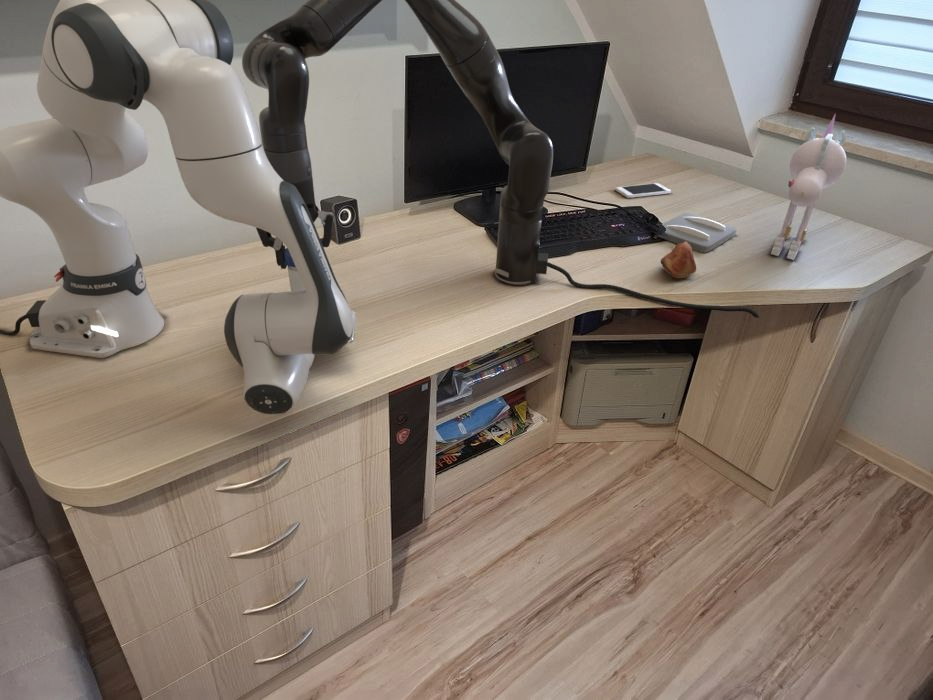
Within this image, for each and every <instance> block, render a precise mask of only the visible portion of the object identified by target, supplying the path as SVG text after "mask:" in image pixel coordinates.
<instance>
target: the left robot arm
mask: <svg viewBox="0 0 933 700" xmlns="http://www.w3.org/2000/svg"><path fill="white" fill-rule="evenodd" d="M53 11H54V12H53V13H52V16H51V18H50V21H49V23H48V27H47V30H46V33H45V36H44V37H45V38H44V41H43V46H42V52H41V57H40V64H39V68H38V69H39V70H38V77H37V82H36V92H37V96H38V98H39V102H40V103H41V105H42V107H43V108H44V110H45V111H46V112H47V114H49V115H50V118H47V119H41V120H36V121H32V122H27V123H22V124H17V125H12V126H9V127H6V128H3V129H1V130H0V197H1V198H2V199H4V200H6V201H9V202H11V203H14V204H17V205H20V206H23V207H24V208H26V209H29V211H31V212H33V213H34V214H36V215H37V216H38V217H39V218H40V219H41V220H42V221H43V222H44V223H45V224H46V226H47V227H48V228H49V229H50V232H51V233H52V234H53V237H54V239H55V241H56V244H57V246H58V248H59V250H60V252H61V255H62V258H63V260H64V265H63V266H61V267H60V268H59V271H58V272H57V273H56V274H54V276H53V278H55V282H56V283H58V282H59V281H60V280H61V279H62V280H63V281H62V285H61V286H60V287H59V288H58V289H56V290H55V291H54V292H53V293H52V294H50V296H49V297H48V298H47V299H44V300H41V299H40V300H36V301H35V303H33V304H32V306H31V307H30V308H29V309H28V310H27V312H26V313H25V314H24V315H22V316H20V317H19V318H18V319H17V320H16V322H15V325H14V330H12V331H6V330H3V329H0V334H1V335H4V336H16V335H18V334H19V333H20V331H21V324H22V323H23V322H24V321H25V320H28V322H29V324H30V327H31V328H35V329H34V330H33V332H32V333H31V335H30V337H29V344H30V348H31V349H32V350H39V351H45V352H46V351H47V352H53V353H54V352H55V353H60V354H69V355H75V356H76V355H77V356H83V357H89V358H98V359H104V358H107V357H111V356H113V355H114V354H117V353H118V352H120V351H123V350H126V349H130V348H134V347H137V346H140V345H142V344H144V343H146V342H149V341H151V340H152V339H154V338H155V337H156V336H158V335H159V334H160V333H161V332H162V331H163V329H164V327H165V319H164V317H163V316H162V315H161V313H160V312H159V310H158V309H157V307H156V305H155V303H154V301H153V299H152V297H151V294H150V292H149V290H148V287H147V281H146V280H147V279H146V275H145V272H144V268H143V265H142V262H141V259H140V256H139V255H138V254H137V253H136V250H135V247H134V242H133V238H132V236H131V232H130V228H129V225H128V222H127V220H126V219H125V217H124V215H122V214H121V213H120V212H119V211H118V210H116V209H115V208H112V207H110V206H108V205H104V204H99V203H96V202H95V203H94V202H89V200H88V198H87V196H86V193H85V188H87V187H90V186H94V185H97V184H100V183H103V182H107V181H111V180H115V179H118V178H121V177H123V176H125V175H127V174H130V173H131V172H133V171H135V170H136V169H138V168H139V167H141V166H143V165H144V164H145V163H146V162H147V159H148V155H149V142H148V141H149V140H148V138H147V135H146V132H145V131H144V129H143V127H142V125H140V123H139V122H138V121H137V120H136V119H135V118H134V117H133V116H132V115H130V114H129V113H128V112H126V109H128V110H132V111H135V110H136V111H137V109H139V107H140V106H141V104H142V102H143V100H144V101H146V102H148V103H149V104H150V105H152V106H153V107H155V109H157V110H158V112H159V113H160V115H161V116H162V118H163V120H164V122H165V125H166V128H167V132H168V135H169V141H170V144H171V147H172V151H173V155H174V158H175V162H176V165H177V168H178V171H179V174H180V178H181V179H182V183H183V186H184V188H185V189H186V191H187V193H188V195H189V196H190V197H191V198H192V200H193V201H195V203H196V204H198V205H199V206H200V207H202V208H203V210H206V211H207V212H209V213H211V214H213V215H214V216H216V217H219V218H222V219H224V220H227V221H232V222H236V223H240V224H244V225H247V226H251V227H254V228H255V229H256V228H259V229H262V230H264V231H267V232H269V233H271V235H272V236H274V237H275V238H276V237H277V238H279V239H280V240H281V241H282V242H283V245H285V248H288V250H289V252H290V255H291V257H292V259H293V262H294V264H295V266H296V269H297V271H298V273H299V276H300V278H301V281H302V283H303V285H304V288H305V290H302V291H291V290H290V291H279V292H278V291H276V292H274V291H273V292H271V291H269V292H258V293H249V294H241V295H239V296H238V297H237V298H236V299H235V300H234V301H233V303H232V304H231V306H230V308H229V309H228V312H227V313H226V316H225V319H224V326H223V327H224V328H223V334H224V339H225V343H226V346H227V349H228V351H229V352H230V354H231V355H232V357H233V358H234V359H235V361H236V362H237V363H238V365H239V366H240V367H241V368H242V369H243V387H242V395H243V398H244V402H245V404H246V405H247V406H248V407H249V408H251V409H252V410H254V411H256V412H258V413H260V414H264V415H279V414H280V415H281V414H286V413H287V412H289V411H290V410H292V409H293V408H294V407H295V406H296V404H297V403H298V402H299V400H300V398H301V396H302V394H303V392H304V390H305V387H306V385H307V381H308V380H309V379H308V378H309V375H310V368H311V367H312V365H313V362H314V359H315V356H317V355H318V356H320V355H323V356H324V355H327V356H328V355H329V356H334V355H336V354H337V353H338V352H340V351H341V350H342V349H343V348H344V347H345V346H346V345H348V344H350V343H351V344H352V343H353V342H354V340H355V336H356V330H357V328H358V327H357V325H358V323H357V322H358V321H357V314H356V312H355V310H353V309H351V307H350V305H349V302H348V300H347V298H346V295H345V294H344V292H343V290H342V288H341V286H340V285H339V283H338V281H337V278H336V276H335V274H334V271H333V268H332V266H331V263H330V261H329V258H328V255H327V252H326V250H325V247H323V245H322V243H321V240H320V239H321V238H320V236H319V232H318V230H317V227H316V225H315V222H314V223H313V220H312V218H311V216H310V213H309V211H308V209H307V207H306V204H305V202H304V200H303V198H302V196H301V195H300V193H299V191H298V190H297V188H296V187H295V186H294V185H292V184H290V183H288V182H286V181H284V180H283V179H282V178H281V177H280V176H279V175H278V174H277V173H276V171H275V170H274V169H273V167H272V166H271V164H270V162H269V160H268V158H267V156H266V154H265V151H264V148H263V144H262V140H261V133H260V128H259V125H258V122H257V119H256V116H255V113H254V110H253V107H252V105H251V102H250V99H249V96H248V94H247V91H246V89H245V87H244V85H243V82H242V80H241V77H240V76H239V74H238V72H237V71H236V70H235V69H234V67H233V66H232V61H233V58H234V52H235V51H234V50H235V49H234V39H233V34H232V31H231V28H230V26H229V23H228V21H227V19H226V18H225V16H224V15H223V12H221V10H220V9H219V8H218V7H217V6H216V5H215V4H214V3H213V2H211V1H209V0H59V1H58V3H57V5H56V7H55V8H54V10H53Z"/></svg>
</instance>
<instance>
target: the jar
mask: <svg viewBox="0 0 933 700" xmlns="http://www.w3.org/2000/svg"><path fill="white" fill-rule="evenodd" d="M287 273H288V278H289V287H290V291H302V290H305V288H304V285H303V283H302V281H301V278H300V276H299V273H298V271H297V269H296V267H290V266H288V265H287Z"/></svg>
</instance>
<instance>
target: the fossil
mask: <svg viewBox="0 0 933 700" xmlns="http://www.w3.org/2000/svg"><path fill="white" fill-rule="evenodd" d="M660 264H661V265H662V267H663V269H664V270H665V272H667V274H669V275H671V277H673V278H675V279H684V278H687V277H689V276H690V275H693V274H695V272H697V264H696V260H695V257H694V252H693V249H692V248H691V246H690V245H689V243H688V242H687V241H685V242H684V243H681V244H676V245H675V246H674V247H673V248H672V250H671V251H670V252H668V253H667V254H666V255H664V256H663V257H662V258H661V259H660Z"/></svg>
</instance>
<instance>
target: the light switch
mask: <svg viewBox="0 0 933 700" xmlns="http://www.w3.org/2000/svg"><path fill="white" fill-rule="evenodd" d="M661 224H662V225H663V226H664V227H665V228H666V231H665V234H667V235H668V237H665V236H662V235H658V236H657V235H654V236H655V237H657V238H659V239H663V240H665V241H669V242H671V243H674V244H676V245H678V244H681V243H684V242H685V241H687V242H688V243H689V245H690V246H691V248H692V250H694V251H697V252H699V253H709V252H711V251H712V250H714V249H716V248H717V247H719V246H720V245H722V244H724V243H725V242H727V241H730V239H732V238H734V237H736V234H737V228H736V227H734V226H732V225H729V224H725V223H722V222H719V221H716V220H713V219H710V218H707V217H703V216H700V215H697V214H694V213H690V212H683V213H682V214H679V215H677V216H675V217H673V218H671V219H669V220H668V221H666V222H663V223H661Z"/></svg>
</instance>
